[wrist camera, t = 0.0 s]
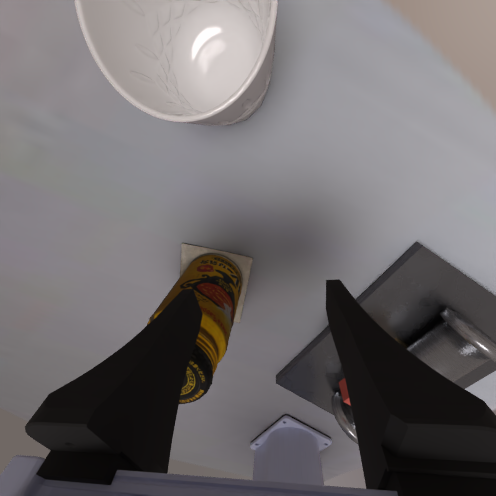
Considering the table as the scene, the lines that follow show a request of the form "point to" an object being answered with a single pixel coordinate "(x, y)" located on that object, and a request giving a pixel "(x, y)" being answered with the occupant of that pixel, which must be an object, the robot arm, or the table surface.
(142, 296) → the table surface
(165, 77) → the white cup
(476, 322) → the valve body
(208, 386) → the condiment
